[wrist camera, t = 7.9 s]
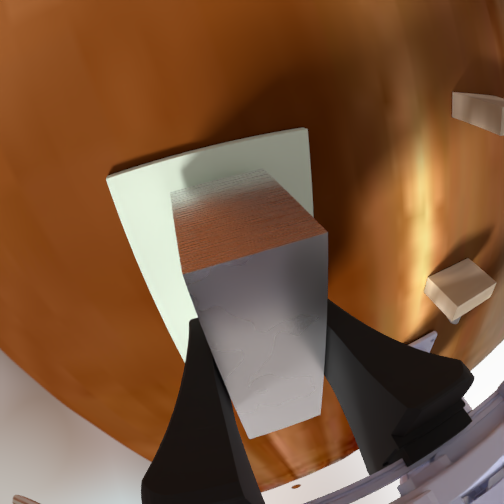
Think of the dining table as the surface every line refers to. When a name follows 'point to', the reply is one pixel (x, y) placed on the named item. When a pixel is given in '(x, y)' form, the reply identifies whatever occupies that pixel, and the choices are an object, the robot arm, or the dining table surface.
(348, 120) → the dining table surface
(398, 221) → the dining table surface
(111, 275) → the dining table surface
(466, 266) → the blocks
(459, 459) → the robot arm
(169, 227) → the mat
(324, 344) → the steel bar
